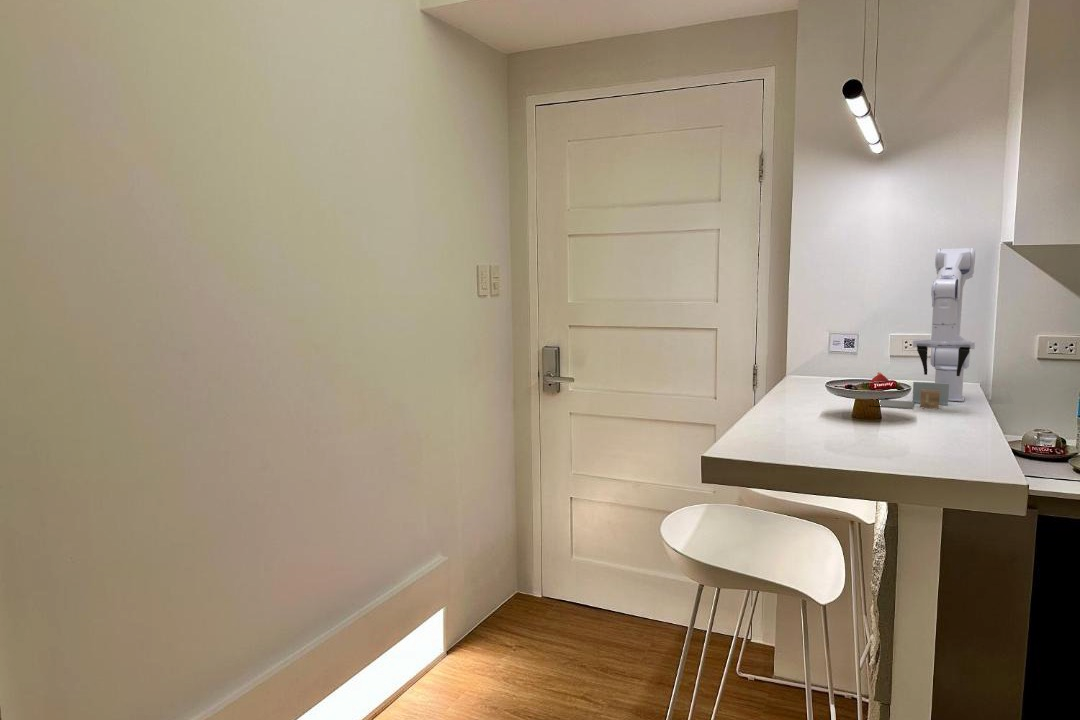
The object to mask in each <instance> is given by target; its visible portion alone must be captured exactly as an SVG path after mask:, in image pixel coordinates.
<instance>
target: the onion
mask: <svg viewBox="0 0 1080 720" xmlns="http://www.w3.org/2000/svg"><path fill="white" fill-rule="evenodd" d="M874 381H889V379H888V378H887V377H886V376H885V375H884V374H883V373H882V372H879V371H877V375H875V376H874V377H873V378H872V379H871V380H870V382H874ZM870 382H869V383H870ZM889 382H890V381H889Z"/></svg>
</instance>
